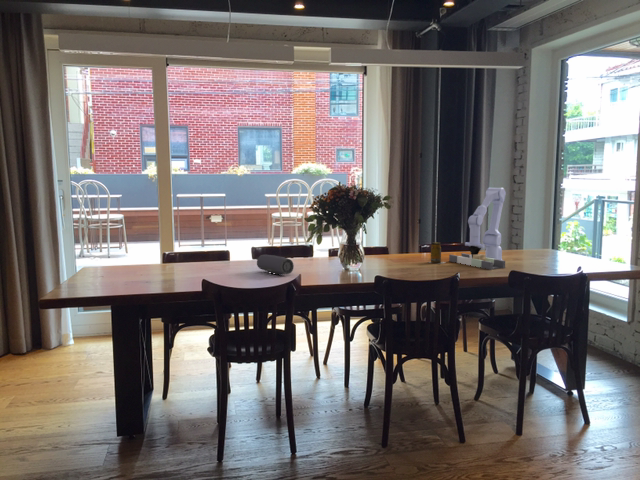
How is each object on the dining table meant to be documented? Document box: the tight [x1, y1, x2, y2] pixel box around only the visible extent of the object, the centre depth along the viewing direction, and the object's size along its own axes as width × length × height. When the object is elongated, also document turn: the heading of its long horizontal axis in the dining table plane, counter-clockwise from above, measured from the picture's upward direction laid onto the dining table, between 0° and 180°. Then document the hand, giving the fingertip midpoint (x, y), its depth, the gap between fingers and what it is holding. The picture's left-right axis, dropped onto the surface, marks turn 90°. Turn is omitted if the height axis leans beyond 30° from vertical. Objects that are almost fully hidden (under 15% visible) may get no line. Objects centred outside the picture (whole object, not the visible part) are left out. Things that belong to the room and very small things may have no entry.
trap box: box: [448, 252, 506, 271], centre depth 315 cm, size 11×34×4 cm, turn 27°
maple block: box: [473, 253, 486, 261], centre depth 313 cm, size 5×5×4 cm
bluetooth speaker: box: [256, 254, 294, 275], centre depth 295 cm, size 23×9×10 cm, turn 42°
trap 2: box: [492, 266, 504, 270], centre depth 304 cm, size 8×7×1 cm
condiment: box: [428, 241, 447, 265], centre depth 323 cm, size 7×8×12 cm
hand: (474, 259), depth 316 cm, fingers closed
